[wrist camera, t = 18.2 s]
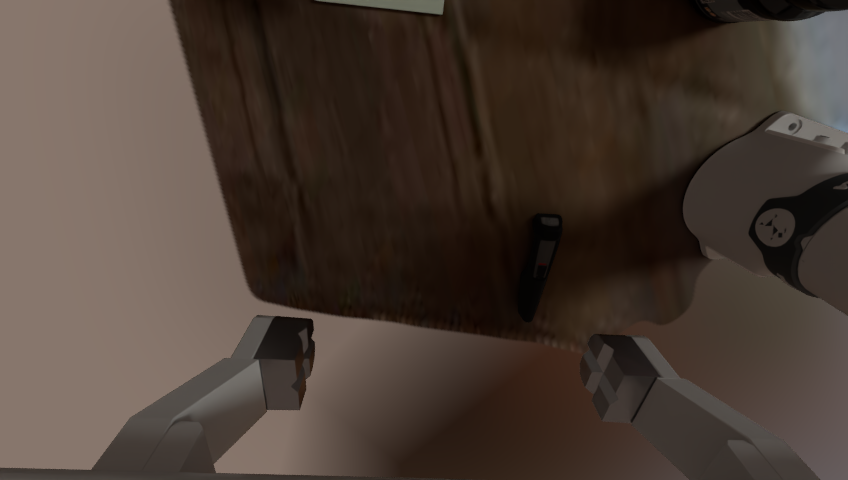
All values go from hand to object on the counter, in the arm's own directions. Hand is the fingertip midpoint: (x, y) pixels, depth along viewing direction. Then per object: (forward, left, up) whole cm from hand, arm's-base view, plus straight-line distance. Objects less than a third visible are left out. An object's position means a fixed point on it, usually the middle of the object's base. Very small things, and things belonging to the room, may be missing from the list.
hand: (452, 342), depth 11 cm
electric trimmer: (-17, +18, -35) cm, 42 cm away
